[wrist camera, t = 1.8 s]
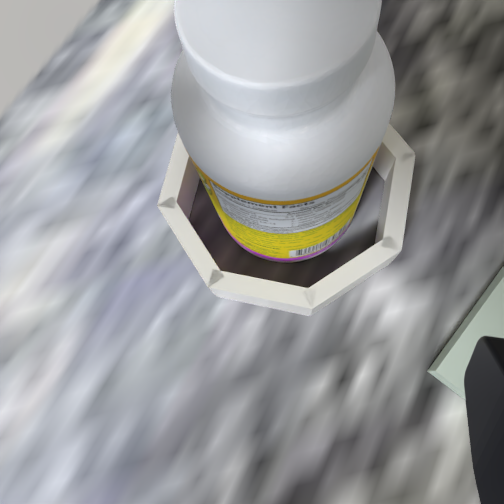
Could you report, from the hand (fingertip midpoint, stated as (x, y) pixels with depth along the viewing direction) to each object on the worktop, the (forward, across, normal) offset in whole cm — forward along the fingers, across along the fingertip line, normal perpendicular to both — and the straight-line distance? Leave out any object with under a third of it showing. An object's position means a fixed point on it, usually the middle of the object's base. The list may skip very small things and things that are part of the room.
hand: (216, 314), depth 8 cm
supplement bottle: (+14, 0, +4) cm, 15 cm away
